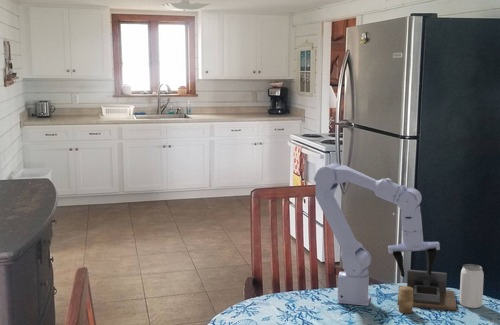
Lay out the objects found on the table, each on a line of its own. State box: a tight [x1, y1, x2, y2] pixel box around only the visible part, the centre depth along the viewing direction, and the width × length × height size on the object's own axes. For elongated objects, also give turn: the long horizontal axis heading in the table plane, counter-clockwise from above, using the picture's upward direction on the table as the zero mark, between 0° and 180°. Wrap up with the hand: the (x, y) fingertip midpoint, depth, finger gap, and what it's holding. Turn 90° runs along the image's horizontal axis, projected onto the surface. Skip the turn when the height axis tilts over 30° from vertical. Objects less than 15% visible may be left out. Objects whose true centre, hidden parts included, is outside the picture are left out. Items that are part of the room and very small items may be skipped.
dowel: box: [398, 285, 414, 315], centre depth 165 cm, size 4×4×7 cm
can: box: [459, 263, 485, 309], centre depth 169 cm, size 6×6×12 cm
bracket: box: [397, 269, 457, 311], centre depth 174 cm, size 17×13×7 cm
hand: (415, 274), depth 163 cm, fingers open, 7 cm apart
